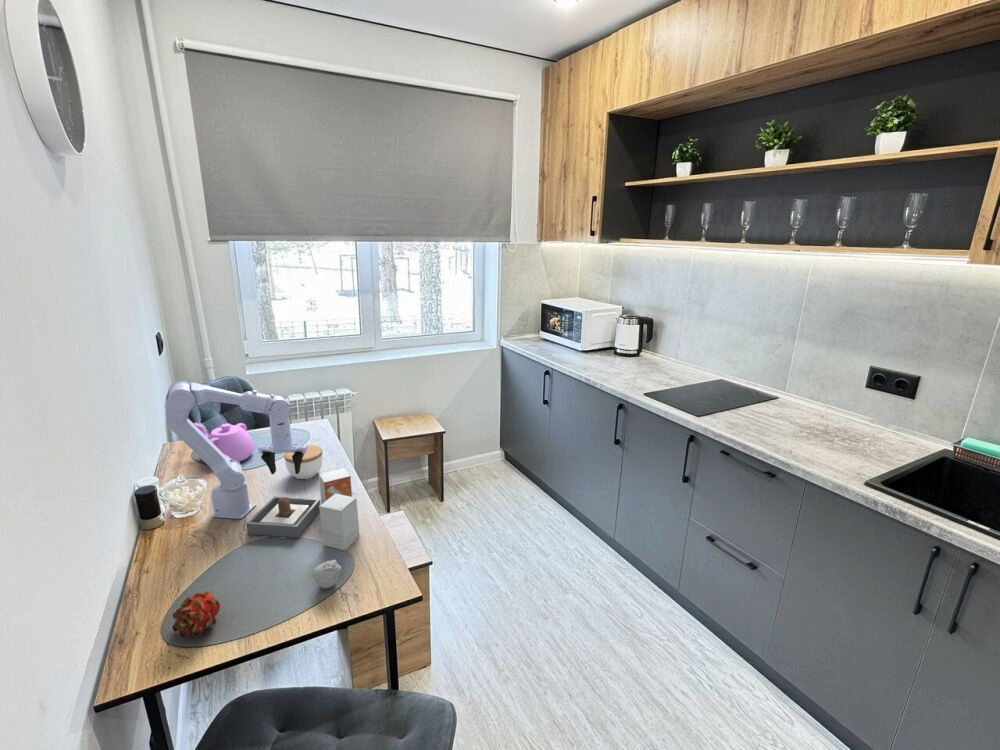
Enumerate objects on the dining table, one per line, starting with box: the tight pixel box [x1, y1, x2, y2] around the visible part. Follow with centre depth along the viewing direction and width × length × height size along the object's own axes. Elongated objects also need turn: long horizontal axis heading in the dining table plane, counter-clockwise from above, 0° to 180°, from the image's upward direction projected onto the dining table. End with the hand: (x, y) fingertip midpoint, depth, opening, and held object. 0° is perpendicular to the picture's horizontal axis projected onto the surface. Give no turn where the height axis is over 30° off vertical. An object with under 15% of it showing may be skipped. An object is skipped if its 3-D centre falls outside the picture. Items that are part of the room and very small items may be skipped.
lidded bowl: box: [283, 444, 323, 480], centre depth 171 cm, size 13×13×11 cm
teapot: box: [193, 422, 255, 463], centre depth 183 cm, size 22×22×14 cm
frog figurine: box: [312, 559, 342, 589], centre depth 117 cm, size 6×7×7 cm
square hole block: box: [245, 495, 321, 540], centre depth 143 cm, size 15×15×4 cm
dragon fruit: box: [171, 590, 221, 639], centre depth 105 cm, size 8×8×12 cm
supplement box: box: [319, 494, 360, 551], centre depth 134 cm, size 7×7×13 cm
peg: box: [278, 496, 291, 518], centre depth 143 cm, size 3×3×7 cm
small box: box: [318, 467, 353, 504], centre depth 148 cm, size 8×6×13 cm
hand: (285, 472), depth 154 cm, fingers open, 7 cm apart
